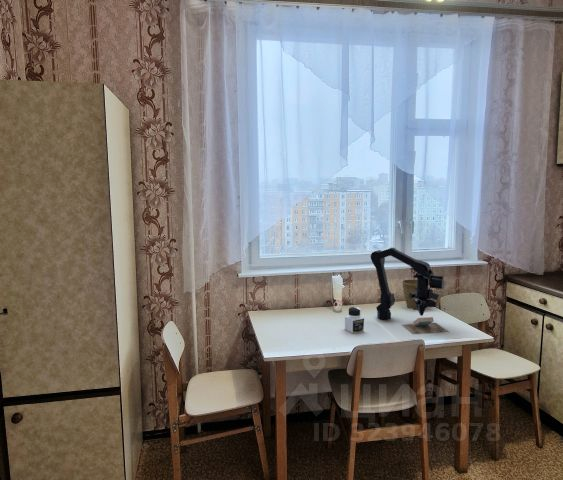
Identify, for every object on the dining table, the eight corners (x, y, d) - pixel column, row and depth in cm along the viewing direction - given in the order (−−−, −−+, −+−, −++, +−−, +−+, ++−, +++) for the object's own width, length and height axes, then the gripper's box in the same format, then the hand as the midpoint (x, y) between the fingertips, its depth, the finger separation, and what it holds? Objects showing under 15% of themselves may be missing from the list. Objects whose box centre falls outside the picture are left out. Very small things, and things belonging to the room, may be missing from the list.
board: (412, 336, 202) (412, 334, 202) (400, 326, 216) (400, 324, 216) (449, 334, 205) (450, 331, 205) (435, 324, 219) (435, 322, 219)
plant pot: (410, 311, 241) (411, 285, 238) (396, 304, 255) (397, 279, 253) (432, 309, 245) (433, 284, 242) (417, 302, 259) (418, 278, 257)
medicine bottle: (352, 333, 207) (353, 310, 205) (344, 329, 213) (344, 307, 211) (363, 331, 210) (364, 308, 208) (355, 327, 216) (355, 305, 214)
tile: (413, 326, 214) (419, 322, 208) (412, 322, 215) (418, 317, 209) (428, 325, 215) (433, 321, 209) (427, 321, 216) (432, 317, 210)
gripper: (446, 290, 204) (445, 320, 206) (427, 281, 222) (426, 309, 224) (426, 291, 202) (424, 321, 204) (408, 282, 220) (407, 310, 223)
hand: (421, 315), depth 214 cm, fingers closed
